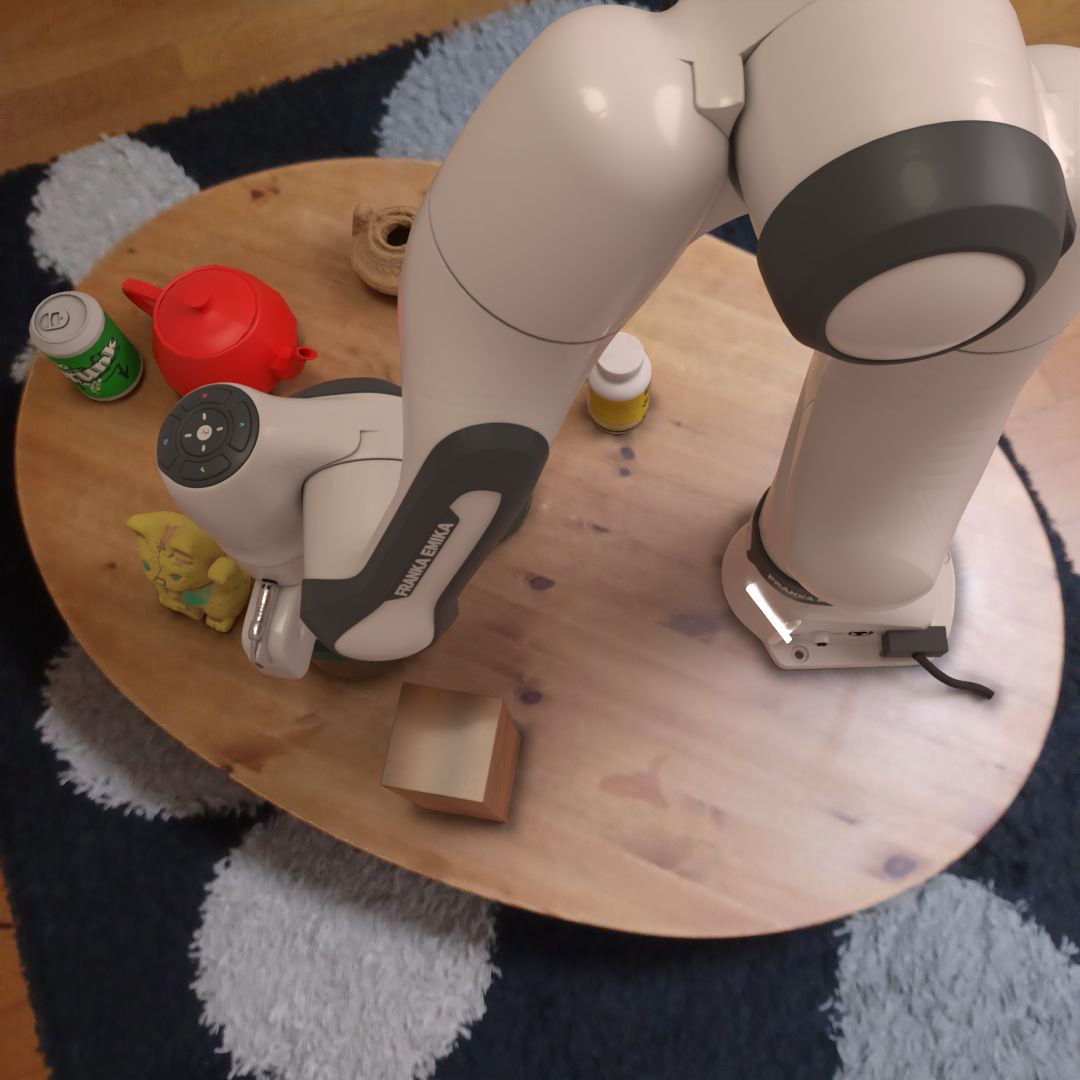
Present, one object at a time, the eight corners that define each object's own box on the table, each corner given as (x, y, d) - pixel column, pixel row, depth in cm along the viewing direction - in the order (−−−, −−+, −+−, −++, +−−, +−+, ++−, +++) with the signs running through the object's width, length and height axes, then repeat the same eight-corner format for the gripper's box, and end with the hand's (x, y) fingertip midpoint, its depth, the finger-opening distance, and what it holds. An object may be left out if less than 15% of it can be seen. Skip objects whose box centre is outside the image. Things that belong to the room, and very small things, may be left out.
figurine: (153, 604, 103) (83, 557, 89) (197, 530, 105) (135, 473, 91) (248, 647, 101) (191, 605, 87) (290, 570, 103) (242, 518, 89)
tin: (434, 570, 103) (420, 542, 95) (408, 689, 99) (391, 670, 91) (317, 552, 104) (293, 523, 96) (286, 669, 100) (259, 649, 92)
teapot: (112, 375, 112) (57, 316, 101) (187, 266, 117) (142, 198, 105) (304, 460, 108) (269, 408, 96) (374, 343, 112) (349, 280, 100)
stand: (521, 737, 96) (502, 697, 78) (506, 822, 94) (483, 803, 75) (440, 723, 97) (402, 681, 78) (422, 808, 95) (379, 785, 76)
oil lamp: (461, 328, 112) (452, 287, 104) (339, 293, 114) (321, 250, 107) (496, 249, 115) (489, 203, 108) (376, 216, 118) (361, 169, 110)
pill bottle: (642, 440, 106) (647, 387, 95) (582, 430, 107) (580, 377, 96) (652, 386, 108) (658, 328, 97) (593, 377, 109) (593, 319, 98)
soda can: (80, 352, 114) (23, 292, 102) (145, 340, 114) (96, 278, 102) (81, 411, 111) (23, 356, 100) (149, 398, 111) (98, 342, 100)
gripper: (287, 665, 72) (336, 701, 85) (353, 410, 79) (389, 480, 92) (204, 651, 73) (264, 689, 86) (276, 400, 79) (322, 471, 92)
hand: (329, 579), depth 89 cm, fingers open, 8 cm apart
